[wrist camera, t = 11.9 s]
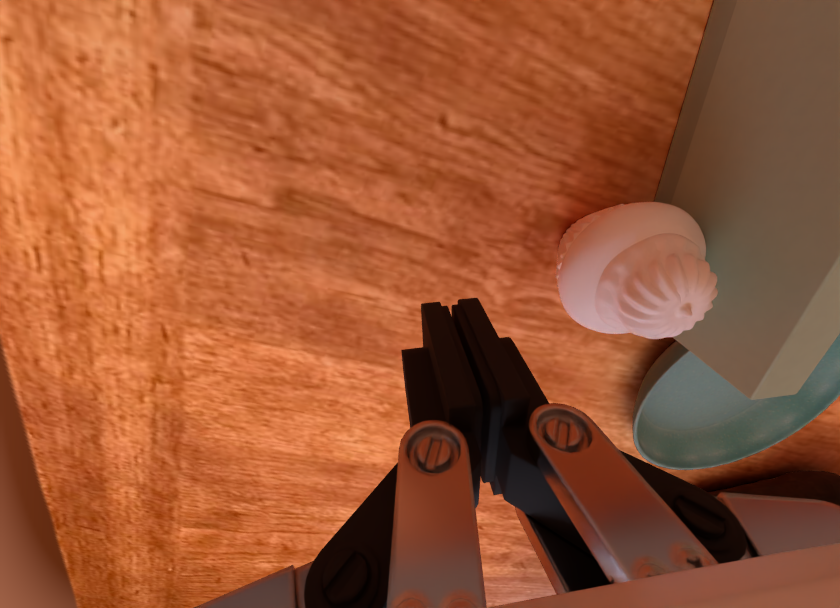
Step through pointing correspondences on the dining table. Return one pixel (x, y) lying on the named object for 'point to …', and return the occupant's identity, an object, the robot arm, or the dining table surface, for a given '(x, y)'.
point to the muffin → (635, 271)
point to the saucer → (720, 411)
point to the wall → (764, 189)
